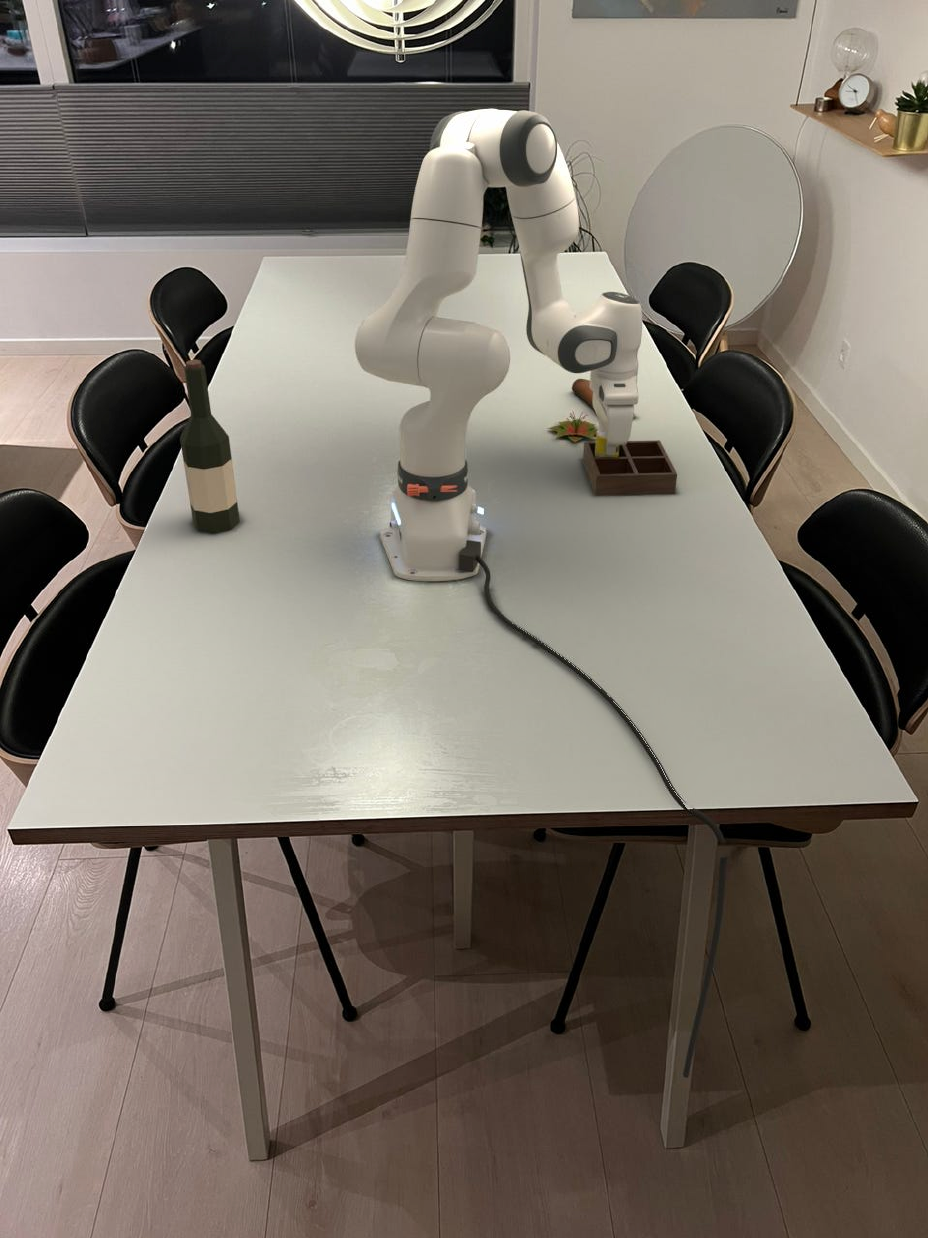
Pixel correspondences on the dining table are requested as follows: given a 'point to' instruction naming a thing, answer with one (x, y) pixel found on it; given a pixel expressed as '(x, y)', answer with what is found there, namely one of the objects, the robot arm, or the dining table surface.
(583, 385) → the sunglasses case
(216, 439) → the wine bottle
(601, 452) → the supplement bottle
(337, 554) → the dining table surface
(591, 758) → the dining table surface
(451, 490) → the robot arm
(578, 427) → the lily flower
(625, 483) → the wooden compartment tray
